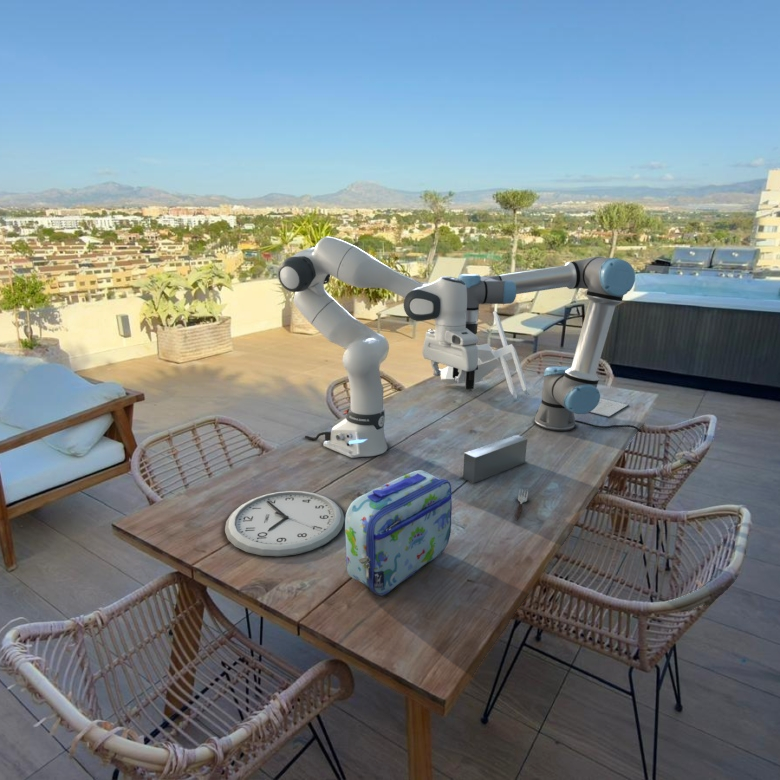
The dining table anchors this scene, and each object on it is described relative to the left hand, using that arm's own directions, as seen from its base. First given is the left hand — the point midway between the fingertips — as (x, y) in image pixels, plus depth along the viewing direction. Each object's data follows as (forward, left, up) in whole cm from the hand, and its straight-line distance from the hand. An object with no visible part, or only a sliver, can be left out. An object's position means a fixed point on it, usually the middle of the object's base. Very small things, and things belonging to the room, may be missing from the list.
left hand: (447, 379), depth 157 cm
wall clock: (-21, -50, -30) cm, 62 cm away
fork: (+29, -11, -30) cm, 43 cm away
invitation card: (+32, +92, -30) cm, 102 cm away
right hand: (-4, +23, -8) cm, 24 cm away
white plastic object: (-20, +82, -30) cm, 90 cm away
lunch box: (+14, -51, -30) cm, 61 cm away
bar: (+14, +8, -30) cm, 34 cm away
